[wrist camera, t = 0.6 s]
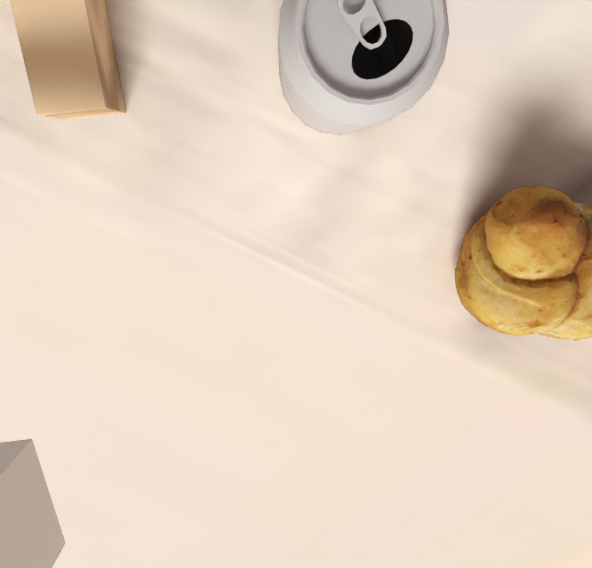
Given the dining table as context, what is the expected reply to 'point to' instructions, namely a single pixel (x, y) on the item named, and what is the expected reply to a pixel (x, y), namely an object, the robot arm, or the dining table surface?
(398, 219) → the dining table surface
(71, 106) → the slat
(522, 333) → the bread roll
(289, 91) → the can
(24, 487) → the robot arm
